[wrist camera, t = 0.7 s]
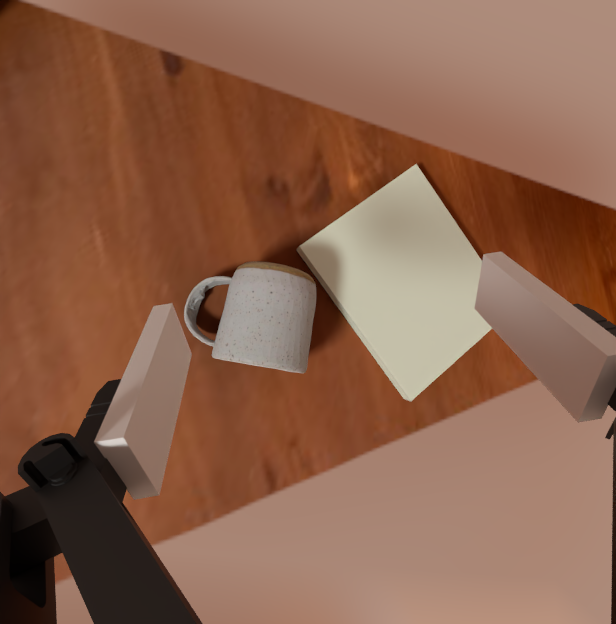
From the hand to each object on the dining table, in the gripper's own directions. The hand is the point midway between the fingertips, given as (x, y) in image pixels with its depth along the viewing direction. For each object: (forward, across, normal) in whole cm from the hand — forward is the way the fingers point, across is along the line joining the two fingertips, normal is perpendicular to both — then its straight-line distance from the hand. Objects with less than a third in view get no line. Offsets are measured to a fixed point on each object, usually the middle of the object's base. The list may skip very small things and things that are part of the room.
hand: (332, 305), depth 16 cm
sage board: (+18, +10, -11) cm, 24 cm away
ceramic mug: (+15, -6, -10) cm, 19 cm away
